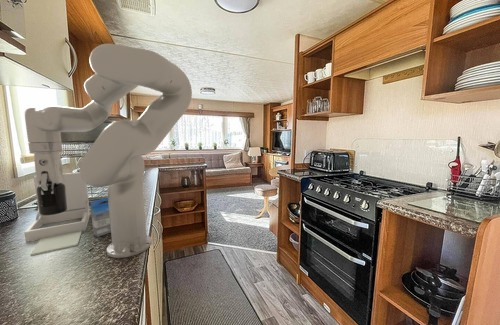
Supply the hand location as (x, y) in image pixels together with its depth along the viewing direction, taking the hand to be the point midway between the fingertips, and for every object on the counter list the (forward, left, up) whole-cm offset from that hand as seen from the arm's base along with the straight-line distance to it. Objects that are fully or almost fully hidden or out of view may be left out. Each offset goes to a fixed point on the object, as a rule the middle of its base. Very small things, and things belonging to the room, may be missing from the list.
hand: (53, 202), depth 69 cm
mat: (0, 0, -14) cm, 14 cm away
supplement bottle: (0, 0, -3) cm, 3 cm away
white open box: (+15, +1, -14) cm, 20 cm away
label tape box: (+1, -14, -14) cm, 20 cm away
